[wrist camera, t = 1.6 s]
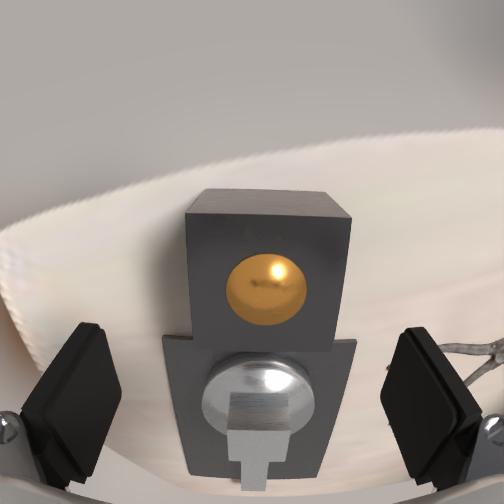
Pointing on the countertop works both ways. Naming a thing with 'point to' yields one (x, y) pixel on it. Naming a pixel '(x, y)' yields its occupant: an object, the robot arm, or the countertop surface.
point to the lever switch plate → (256, 409)
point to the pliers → (500, 350)
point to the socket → (266, 269)
